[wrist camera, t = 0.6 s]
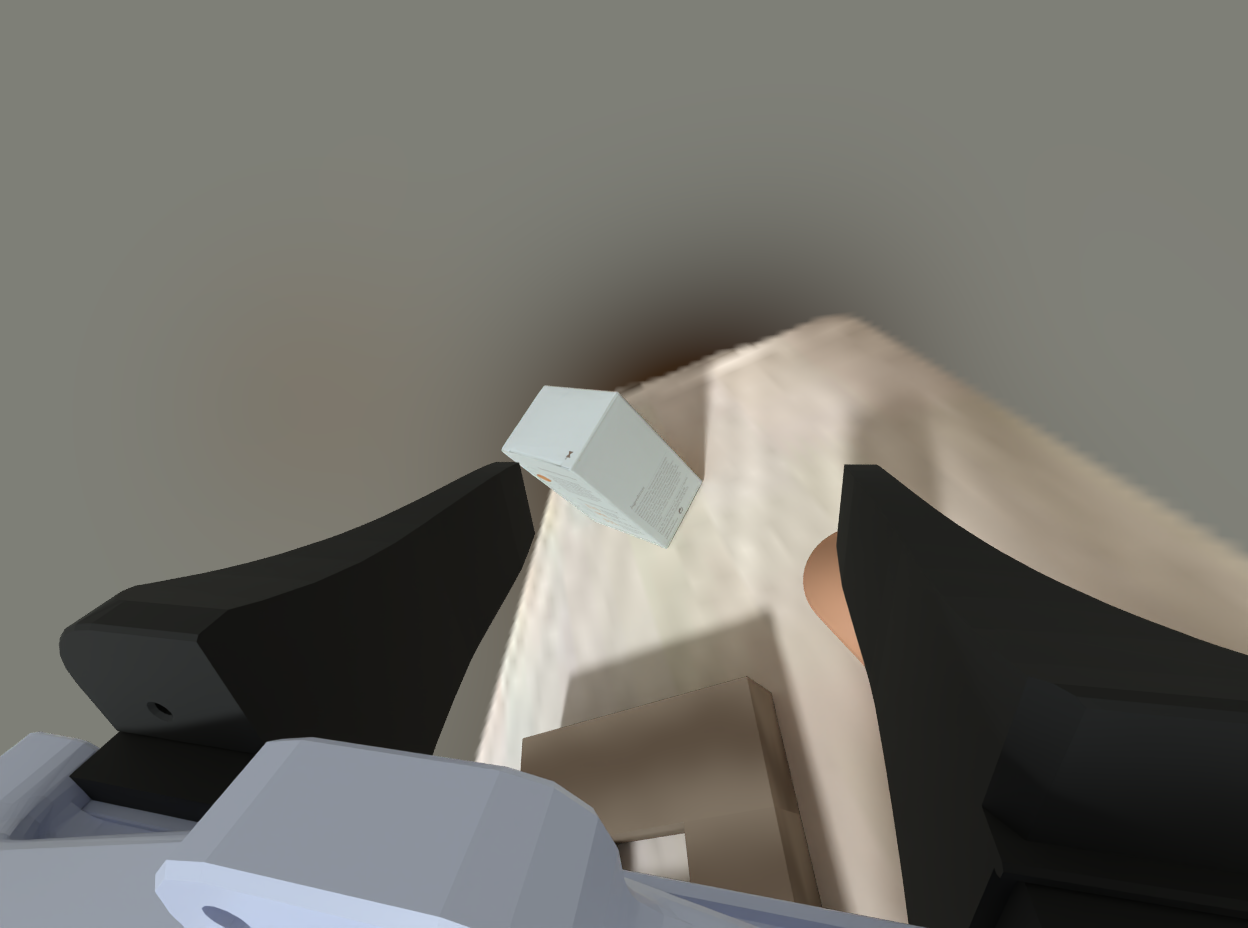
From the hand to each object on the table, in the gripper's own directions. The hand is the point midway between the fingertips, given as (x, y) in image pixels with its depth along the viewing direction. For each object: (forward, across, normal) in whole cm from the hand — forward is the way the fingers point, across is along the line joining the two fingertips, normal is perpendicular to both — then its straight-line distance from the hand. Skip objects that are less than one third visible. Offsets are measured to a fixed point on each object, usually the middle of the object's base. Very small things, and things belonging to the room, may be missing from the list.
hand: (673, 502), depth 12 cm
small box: (+22, +6, +15) cm, 27 cm away
